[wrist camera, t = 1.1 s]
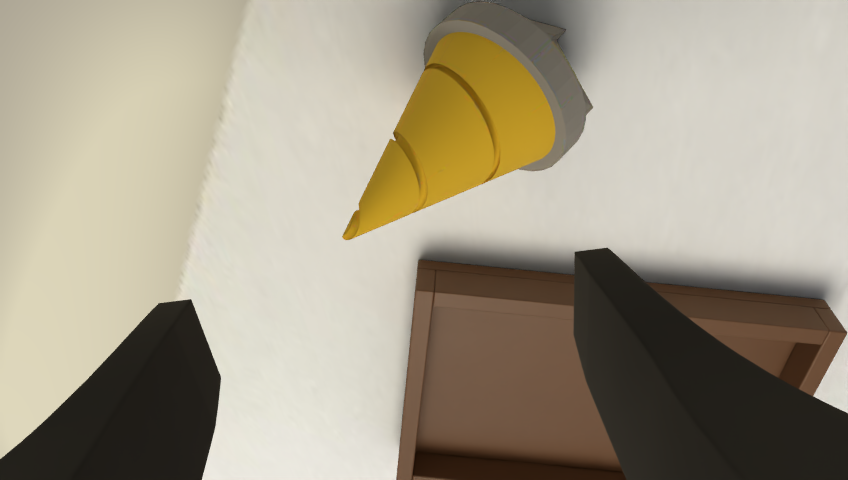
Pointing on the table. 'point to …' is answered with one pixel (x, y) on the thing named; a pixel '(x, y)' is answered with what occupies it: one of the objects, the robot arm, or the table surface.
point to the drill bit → (476, 113)
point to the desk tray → (557, 369)
